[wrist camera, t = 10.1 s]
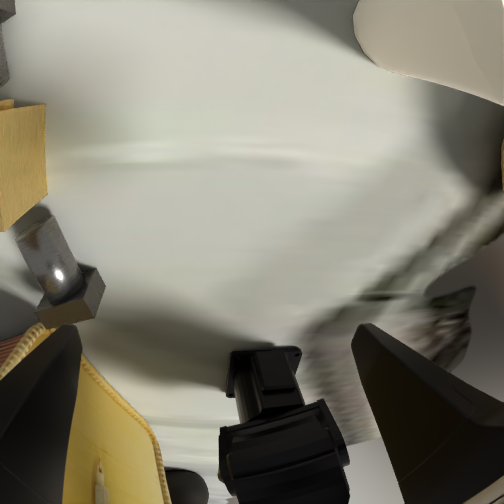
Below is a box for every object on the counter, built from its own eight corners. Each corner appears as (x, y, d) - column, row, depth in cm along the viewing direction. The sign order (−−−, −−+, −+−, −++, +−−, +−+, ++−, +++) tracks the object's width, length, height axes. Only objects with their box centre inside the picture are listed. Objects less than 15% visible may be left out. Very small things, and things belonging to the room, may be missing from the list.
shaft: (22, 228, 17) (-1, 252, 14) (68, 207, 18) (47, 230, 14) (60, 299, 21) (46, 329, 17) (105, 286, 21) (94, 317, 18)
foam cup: (305, -10, 14) (445, -95, 2) (404, -33, 13) (540, -65, 1) (370, 113, 18) (537, 163, 7) (453, 74, 17) (594, 102, 6)
